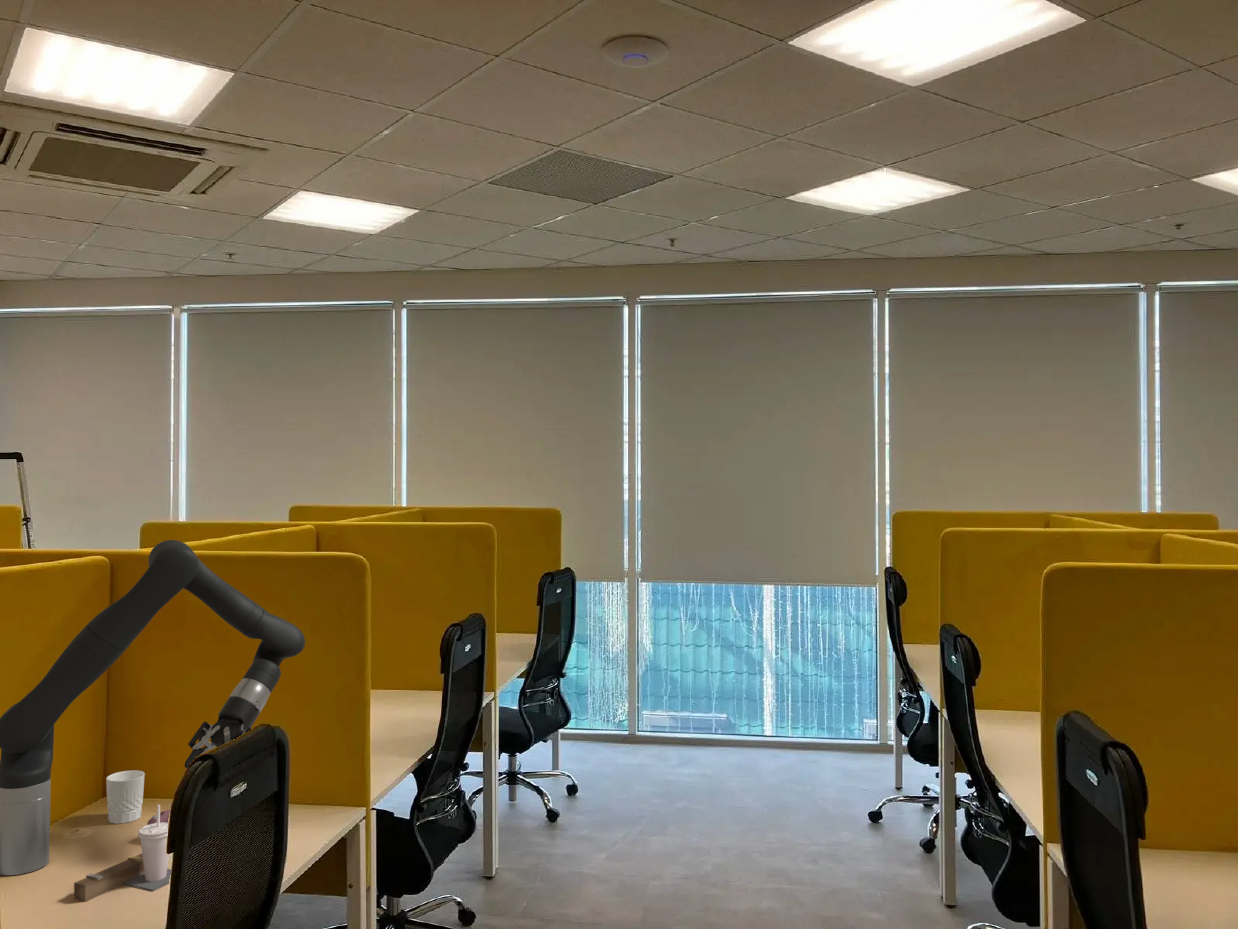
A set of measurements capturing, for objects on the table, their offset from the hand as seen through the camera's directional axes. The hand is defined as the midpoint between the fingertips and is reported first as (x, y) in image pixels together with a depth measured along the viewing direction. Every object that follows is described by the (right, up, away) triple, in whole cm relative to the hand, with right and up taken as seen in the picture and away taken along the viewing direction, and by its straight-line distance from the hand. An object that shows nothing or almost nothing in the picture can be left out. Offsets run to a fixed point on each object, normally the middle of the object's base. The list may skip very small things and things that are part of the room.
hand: (203, 771), depth 190 cm
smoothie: (-4, -18, -11) cm, 21 cm away
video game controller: (-12, -18, +11) cm, 24 cm away
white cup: (-28, -18, +21) cm, 40 cm away
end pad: (-4, -18, -11) cm, 21 cm away
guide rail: (-11, -18, -13) cm, 24 cm away
